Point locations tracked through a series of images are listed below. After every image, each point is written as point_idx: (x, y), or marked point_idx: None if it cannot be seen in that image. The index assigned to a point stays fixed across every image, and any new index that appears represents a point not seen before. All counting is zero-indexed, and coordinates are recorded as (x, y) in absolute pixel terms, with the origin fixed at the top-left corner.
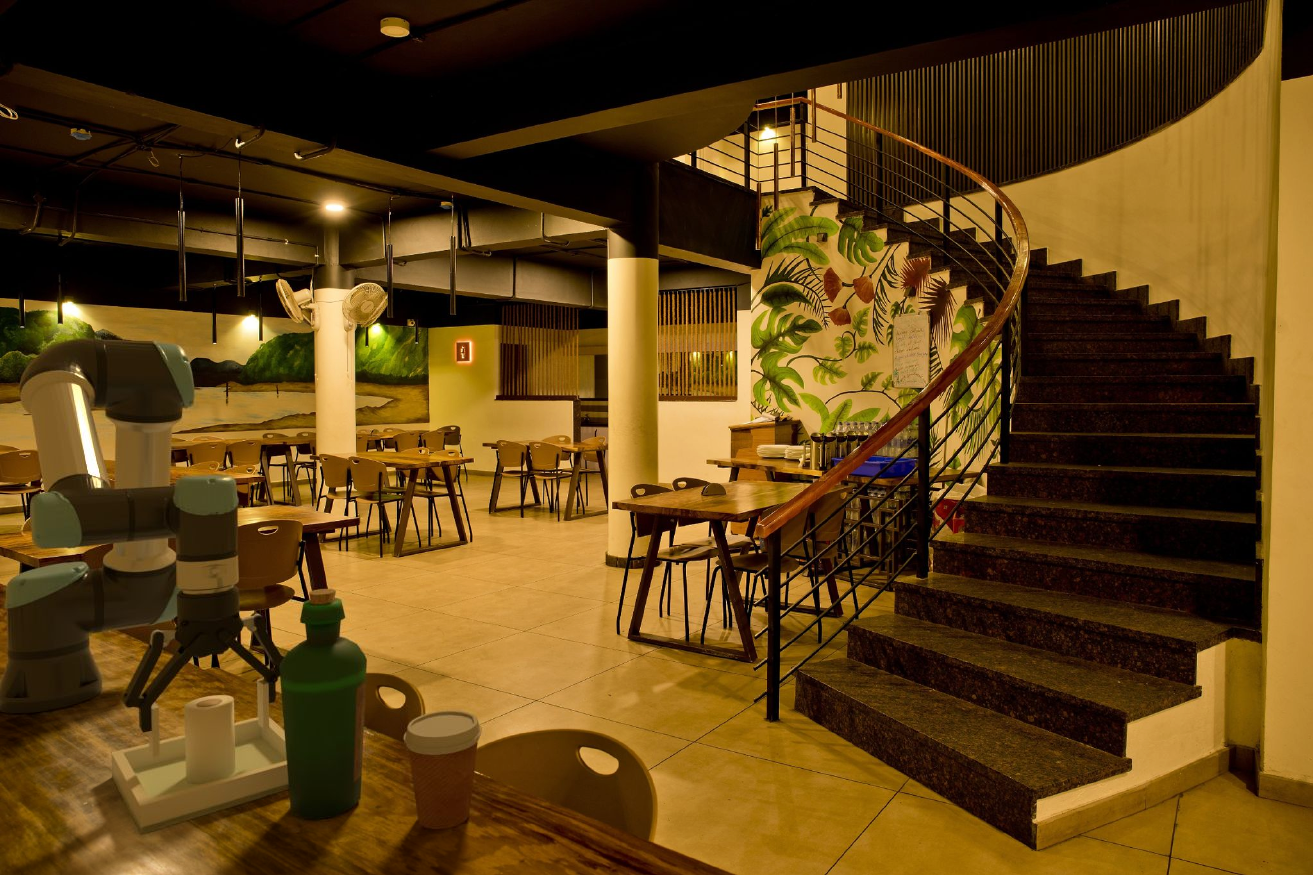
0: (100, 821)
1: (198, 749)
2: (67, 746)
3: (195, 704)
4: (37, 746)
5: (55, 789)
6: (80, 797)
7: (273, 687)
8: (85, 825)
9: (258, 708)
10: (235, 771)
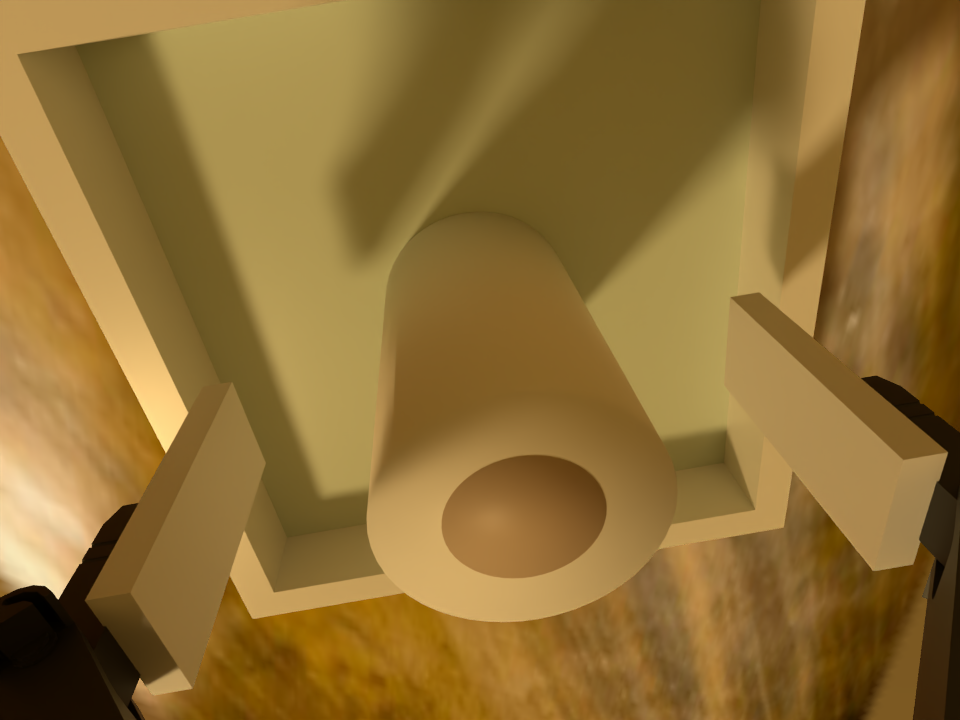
0: (869, 131)
1: (559, 287)
2: (775, 681)
3: (605, 530)
4: (826, 701)
5: None
6: (851, 370)
7: (80, 589)
8: (915, 126)
9: (239, 514)
10: (386, 273)
